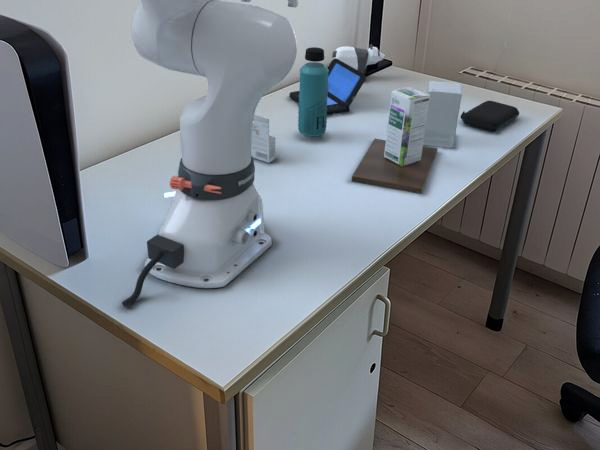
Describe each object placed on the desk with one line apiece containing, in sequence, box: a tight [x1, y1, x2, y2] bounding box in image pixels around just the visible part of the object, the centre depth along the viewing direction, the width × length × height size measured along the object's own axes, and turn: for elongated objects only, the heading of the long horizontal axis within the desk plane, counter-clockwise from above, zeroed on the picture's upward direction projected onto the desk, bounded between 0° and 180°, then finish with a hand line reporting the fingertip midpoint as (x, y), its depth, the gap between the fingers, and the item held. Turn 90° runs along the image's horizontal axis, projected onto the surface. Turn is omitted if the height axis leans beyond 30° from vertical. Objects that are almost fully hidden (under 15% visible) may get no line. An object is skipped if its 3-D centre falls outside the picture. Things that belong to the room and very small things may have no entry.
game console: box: [288, 58, 367, 116], centre depth 169 cm, size 16×14×9 cm
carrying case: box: [460, 100, 520, 133], centre depth 164 cm, size 11×3×15 cm
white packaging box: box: [423, 80, 463, 149], centre depth 150 cm, size 7×7×13 cm
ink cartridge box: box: [251, 114, 276, 164], centre depth 141 cm, size 2×11×10 cm, turn 56°
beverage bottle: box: [297, 46, 329, 137], centre depth 148 cm, size 6×7×20 cm
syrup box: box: [384, 86, 430, 166], centre depth 138 cm, size 6×6×14 cm
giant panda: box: [331, 43, 386, 82], centre depth 186 cm, size 15×6×10 cm, turn 93°
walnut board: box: [351, 138, 439, 195], centre depth 141 cm, size 20×14×1 cm
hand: (269, 4), depth 129 cm, fingers open, 8 cm apart
